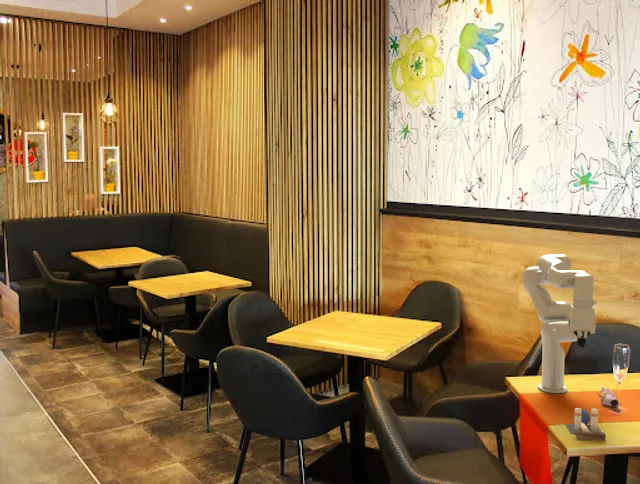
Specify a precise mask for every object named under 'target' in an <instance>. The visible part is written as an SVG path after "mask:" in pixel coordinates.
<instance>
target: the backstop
mask: <svg viewBox="0 0 640 484" xmlns="http://www.w3.org/2000/svg"><path fill="white" fill-rule="evenodd" d="M606 434H607V433H605V432H604V431H602V432H587V431H576V434H575V438H576V440H578V441H579V440H580V441H600V442H603V441H604V442H605V441H606V437H607V436H606Z"/></svg>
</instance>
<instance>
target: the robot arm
mask: <svg viewBox="0 0 640 484" xmlns="http://www.w3.org/2000/svg"><path fill="white" fill-rule="evenodd" d="M536 263H537V266H531V267H528V268H526V269H524V271H523V273H522V283H523V286H524V287H523V288H524V289H525V292H526V293H527V294H528V295H529V297H530V298H531V301H532V304H533V307H534V309H535V311H536V314H537V316H538V319H539V320H540V321H541V322H543V323H542V325H541V326H540V335H541V344H542V356H541V358H542V359H541V361H542V362H541V382H540V383H538V385H537V388H538V389H539V391H542V392H545V393H550V394H563V393H566V392H567V391H568V387H567V386H566V385H565V384H564V383H565V382H564V381H565V349H564V348H563V347H562V345H561V344H560V343H566V342H567V343H570V342H571V343H572V342H576V344H577V346H578V347H579V348H585V346H586V340H587V338H588V337H589V336H590V335H593V334H596V326H597V325H596V323H597V322H596V320H597V319H596V311H595V310H596V309H595V307H594V305H597V301H596V300H594V280H595V279H594V276H593V275H592V274H590V273H587V272H586V271H584V270H579V269H578V270H571V268H572V260H571V259H570V257H569V256H568V255H566V254H546V255H542V256H540V257H539V258H538V260H537V262H536ZM543 285H551V286H552V287H554V288H556V289H560V290H562V289H573V294H572V295H573V298H572V299H573V300H572V301H573V302H572V305H571V304H570V303H569V302H567V301H565V300H563V301H559V300H558V301H554V300H553V299H552V296H551V294H550V292H549V291H548V290H547V289H546V288H545V287H543Z"/></svg>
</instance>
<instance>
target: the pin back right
mask: <svg viewBox="0 0 640 484" xmlns="http://www.w3.org/2000/svg"><path fill="white" fill-rule="evenodd" d="M582 409H583V408H580V407H575V408H574V414H575V419H574V423H573V424H574V431H575V432H576V431H581V416H582Z"/></svg>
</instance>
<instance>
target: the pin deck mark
mask: <svg viewBox="0 0 640 484" xmlns="http://www.w3.org/2000/svg"><path fill="white" fill-rule="evenodd" d="M564 425H565V426H566V429H567V430H568V431H569V433H570V434H571V435H576V432H575V431H574V423H565V424H564ZM585 425H586V427H587V428H588V429H589V431H590V432H591V424H585ZM581 431H582V430H581ZM597 432H603V431H602V430H601V429H600V427H599V426H598V428H597Z"/></svg>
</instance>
